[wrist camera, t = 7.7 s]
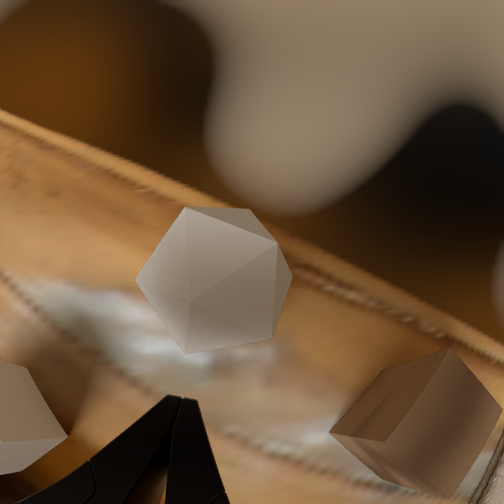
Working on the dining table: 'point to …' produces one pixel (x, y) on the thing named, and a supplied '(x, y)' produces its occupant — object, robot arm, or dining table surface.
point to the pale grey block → (24, 420)
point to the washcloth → (492, 480)
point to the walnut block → (421, 423)
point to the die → (216, 279)
